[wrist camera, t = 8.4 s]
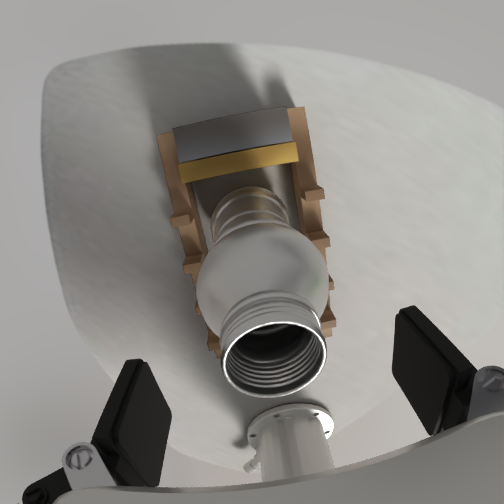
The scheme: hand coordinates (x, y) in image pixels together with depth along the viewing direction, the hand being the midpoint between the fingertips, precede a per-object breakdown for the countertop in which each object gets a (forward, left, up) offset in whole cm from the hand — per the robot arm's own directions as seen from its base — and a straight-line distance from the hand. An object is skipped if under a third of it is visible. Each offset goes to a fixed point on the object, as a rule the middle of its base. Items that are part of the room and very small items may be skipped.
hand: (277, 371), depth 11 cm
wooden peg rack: (-1, -1, -20) cm, 20 cm away
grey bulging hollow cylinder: (0, 0, -20) cm, 20 cm away
